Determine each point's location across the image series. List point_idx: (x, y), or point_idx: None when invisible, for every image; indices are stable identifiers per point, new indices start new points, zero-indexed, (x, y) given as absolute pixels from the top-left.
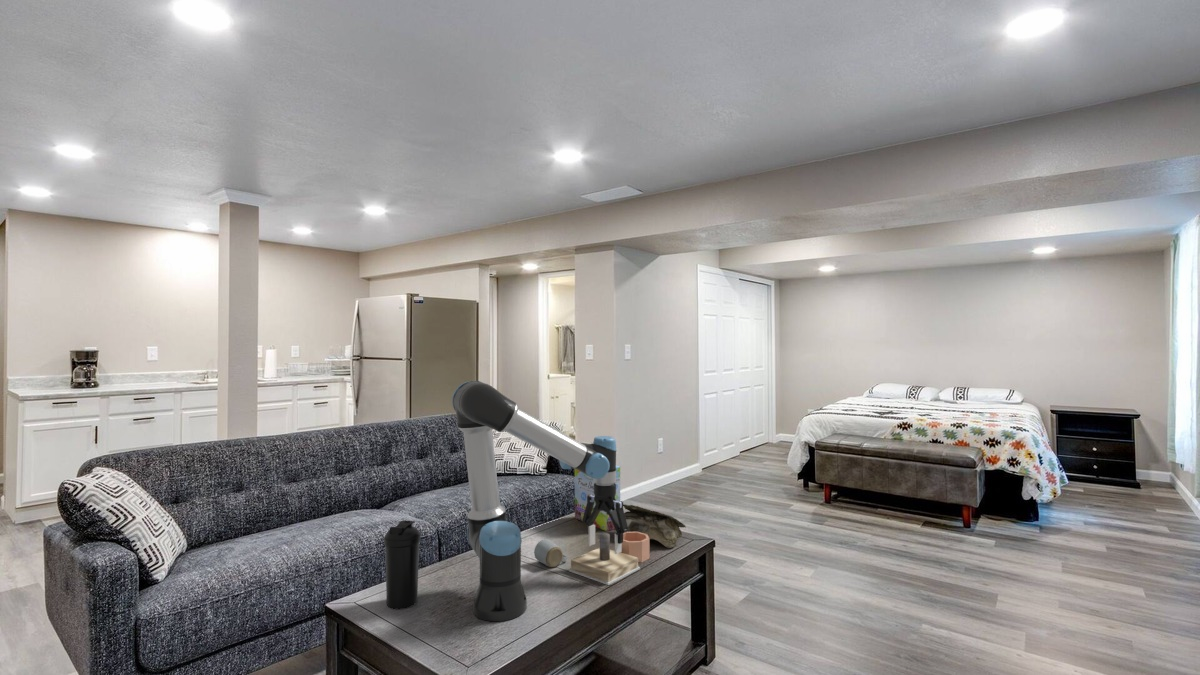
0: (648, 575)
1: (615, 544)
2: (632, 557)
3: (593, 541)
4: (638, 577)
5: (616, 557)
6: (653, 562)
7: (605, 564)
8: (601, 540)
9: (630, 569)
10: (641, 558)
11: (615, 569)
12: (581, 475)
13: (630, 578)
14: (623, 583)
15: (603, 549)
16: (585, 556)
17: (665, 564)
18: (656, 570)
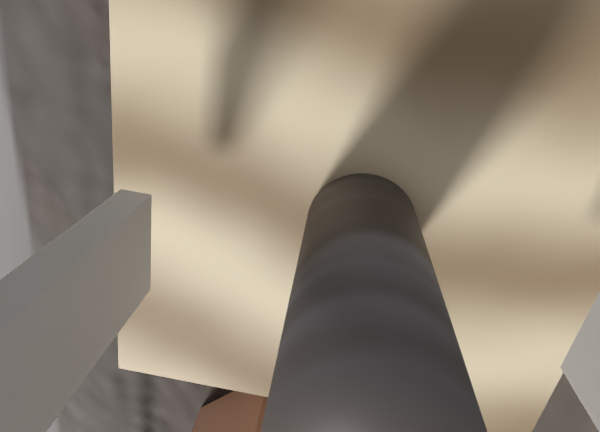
0: (35, 250)
1: (65, 255)
2: (158, 355)
3: (596, 369)
4: (63, 187)
5: (273, 300)
6: (142, 427)
7: (269, 87)
8: (389, 301)
9: None
10: (195, 426)
11: (114, 38)
12: None
13: (95, 141)
14: (74, 17)
15: (346, 229)
16: (596, 179)
17: (71, 428)
18: None
